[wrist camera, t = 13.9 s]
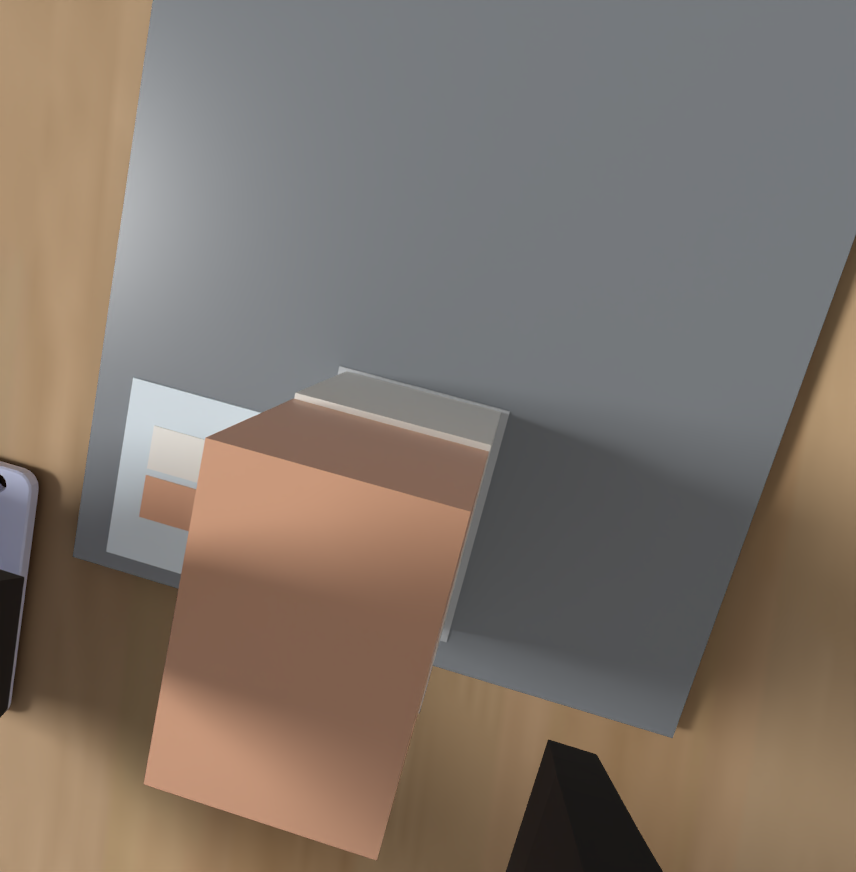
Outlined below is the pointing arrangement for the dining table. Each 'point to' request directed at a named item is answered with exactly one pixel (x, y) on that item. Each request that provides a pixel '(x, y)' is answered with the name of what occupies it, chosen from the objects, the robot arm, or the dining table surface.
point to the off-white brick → (408, 419)
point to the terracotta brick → (309, 618)
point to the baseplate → (493, 289)
